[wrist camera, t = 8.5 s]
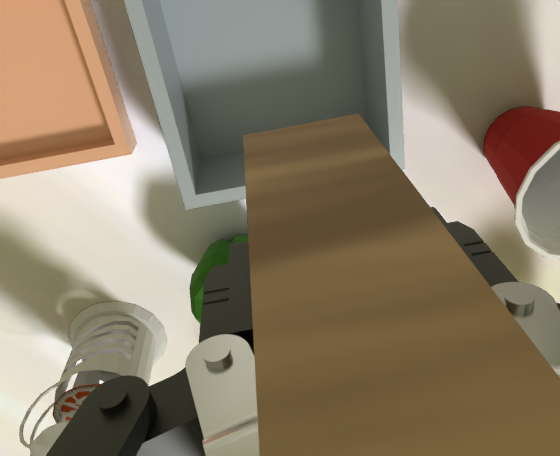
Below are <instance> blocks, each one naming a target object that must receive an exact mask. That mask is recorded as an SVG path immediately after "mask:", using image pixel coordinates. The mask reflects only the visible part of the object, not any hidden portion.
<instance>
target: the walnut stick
mask: <svg viewBox="0 0 560 456" xmlns="http://www.w3.org/2000/svg"><path fill="white" fill-rule="evenodd" d="M243 148H244V167H245V186H246V205H247V224H248V244H249V263H250V282H251V301H252V320H253V339H254V358H255V377H256V397H257V416H258V435H259V454H260V456H560V377H559V376H558V375H557V373H556V372H555V371H554V369H553V368H552V367H551V366H550V364H549V363H548V362H547V360H546V359H545V358H544V356H543V355H542V354H541V352H540V351H539V350H538V348H537V347H536V346H535V345H534V343H533V342H532V341H531V339H530V338H529V337H528V335H527V334H526V333H525V331H524V330H523V329H522V327H521V326H520V325H519V324H518V322H517V321H516V320H515V318H514V317H513V316H512V314H511V313H510V312H509V310H508V309H507V308H506V306H505V305H504V304H503V302H502V301H501V300H500V299H499V297H498V296H497V295H496V293H495V292H494V291H493V289H492V288H491V287H490V285H489V284H488V283H487V281H486V280H485V279H484V278H483V276H482V275H481V274H480V272H479V271H478V270H477V268H476V267H475V266H474V264H473V263H472V262H471V260H470V259H469V258H468V256H467V255H466V254H465V253H464V251H463V250H462V249H461V247H460V246H459V245H458V243H457V242H456V241H455V239H454V238H453V237H452V235H451V234H450V233H449V232H448V230H447V229H446V228H445V226H444V225H443V224H442V222H441V221H440V220H439V218H438V217H437V216H436V214H435V213H434V212H433V211H432V209H431V208H430V207H429V205H428V204H427V203H426V201H425V200H424V199H423V197H422V196H421V195H420V193H419V192H418V191H417V189H416V188H415V187H414V186H413V184H412V183H411V182H410V180H409V179H408V178H407V176H406V175H405V174H404V172H403V171H402V170H401V168H400V167H399V166H398V165H397V163H396V162H395V161H394V159H393V158H392V157H391V155H390V154H389V153H388V151H387V150H386V149H385V147H384V146H383V145H382V143H381V142H380V141H379V140H378V138H377V137H376V136H375V134H374V133H373V132H372V130H371V129H370V128H369V126H368V125H367V124H366V122H365V121H364V120H363V119H362V117H361V116H360V115H359V114H355V115H349V116H344V117H339V118H333V119H328V120H323V121H317V122H312V123H307V124H301V125H296V126H291V127H285V128H280V129H275V130H269V131H264V132H259V133H253V134H248V135H243Z"/></svg>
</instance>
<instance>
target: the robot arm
mask: <svg viewBox="0 0 560 456" xmlns="http://www.w3.org/2000/svg"><path fill="white" fill-rule="evenodd" d="M430 208H431V209H432V211H433V212H434V213H435V214H436V216H437V217H438V218H439V220H440V221H441V222H442V224H443V225H444V226H445V228H446V229H447V230H448V232H449V233H450V234H451V235H452V237H453V238H454V239H455V241H456V242H457V243H458V245H459V246H460V247H461V249H462V250H463V251H464V253H465V254H466V255H467V256H468V258H469V259H470V260H471V262H472V263H473V264H474V266H475V267H476V268H477V270H478V271H479V272H480V274H481V275H482V276H483V278H484V279H485V280H486V281H487V283H488V284H489V285H490V287H491V288H492V289H493V291H494V292H495V293H496V295H497V296H498V297H499V299H500V300H501V301H502V302H503V304H504V305H505V306H506V308H507V309H508V310H509V312H510V313H511V314H512V316H513V317H514V318H515V320H516V321H517V322H518V324H519V325H520V326H521V327H522V329H523V330H524V331H525V333H526V334H527V335H528V337H529V338H530V339H531V341H532V342H533V343H534V345H535V346H536V347H537V348H538V350H539V351H540V352H541V354H542V355H543V356H544V358H545V359H546V360H547V362H548V363H549V364H550V366H551V367H552V368H553V369H554V371H555V372H556V373H557V375H558V376H559V377H560V304H559V303H556V302H555V300H554V298H553V297H552V296H551V295H550V294H549V293H548V292H546V291H545V290H543V289H541V288H539V287H537V286H534V285H531V284H527V283H521V282H518V281H517V280H516V278H515V277H514V276H513V275H512V274H511V273H510V271H509V270H508V269H507V268H506V267H505V266H504V264H503V263H502V262H501V261H500V260H499V259H498V257H497V256H496V255H495V254H494V253H493V252H491V249H490V248H489V247H488V246H487V245H486V243H484V242H483V240H482V239H481V238H480V236H479V235H478V234H477V233H476V232H475V231H474V229H472V228H470V227H468V226H466V225H464V224H462V223H460V222H458V221H456V222H451V223H447V222H446V221H445V220H444V219H443V217H442V216H441V215H440V213H439V212H438V211H437V210H436V208H434V207H430ZM203 293H204V295H203V301H202V304H203V306H202V313H201V324H200V336H199V344H198V345H196V346H195V347H194V348H193V349H192V351H191V352H190V353H189V355H188V357H187V359H186V364H185V368H184V369H183V370H181V371H180V372H178V373H177V374H175V375H173V376H171V377H169V378H167V379H165V380H163V381H160V382H158V383H156V384H154V385H151V386H148V384H147V383H146V382H145V380H143V379H142V378H140V377H137V376H132V375H126V376H119V377H116V378H113V379H110V380H108V381H106V382H104V383H102V384H101V385H99V386H98V387H96V388H95V389H94V390H93V391H92V392H91V393H90V394H89V395H88V396H87V397H86V398H85V400H84V401H83V403H82V404H81V405H80V407H79V408H78V410H77V411H76V413H75V414H74V415H73V417H72V418H71V420H70V421H69V423H68V424H67V425H66V427H65V428H64V430H63V431H62V433H61V434H60V436H59V437H58V438H57V440H56V441H55V443H54V444H53V446H52V447H51V448H50V450H49V451H48V453H47V454H46V456H260V454H259V435H258V416H257V397H256V377H255V358H254V339H253V320H252V301H251V282H250V263H249V244H248V241H245V242H240V243H235V244H230V245H229V263H228V264H223V265H217V266H213V267H212V269H211V270H210V272H209V273H208V275H207V276H206V277H205V279H204V289H203Z"/></svg>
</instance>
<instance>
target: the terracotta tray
mask: <svg viewBox="0 0 560 456" xmlns="http://www.w3.org/2000/svg"><path fill="white" fill-rule="evenodd" d="M136 144H137V142H136V139H135V136H134V133H133V130H132V127H131V124H130V121H129V118H128V115H127V111H126V108H125V105H124V102H123V99H122V96H121V93H120V90H119V87H118V84H117V81H116V78H115V75H114V72H113V68H112V65H111V62H110V59H109V56H108V53H107V50H106V47H105V44H104V41H103V38H102V35H101V32H100V29H99V25H98V22H97V19H96V16H95V13H94V10H93V7H92V4H91V1H90V0H0V179H2V178H7V177H12V176H18V175H23V174H28V173H34V172H39V171H44V170H50V169H55V168H60V167H65V166H71V165H76V164H81V163H87V162H92V161H97V160H103V159H108V158H113V157H119V156H124V155H129V154H132V152H133V150H134V148H135V146H136Z"/></svg>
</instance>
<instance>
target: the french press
mask: <svg viewBox="0 0 560 456" xmlns="http://www.w3.org/2000/svg"><path fill="white" fill-rule="evenodd" d="M69 339H70V342H71V345H72V347H73V349H72V351H71V354H70V356H69V359H68V361H67V364H66V366H65V369H64V371H63V374H62V376H61V379H60V381H59V382H58V383H56V384H55V385H53V386H51V387H50V388H48V389H47V390H46V391H44V392H43V393H42V394H41V395H40V396H39V397H38V398H37V399H36V400H35V402H34V403H33V404H32V405H31V407H30V408H29V409H28V411H27V412H26V415H25V417H24V419H23V421H22V424H21V426H20V432H19V435H20V442H21V443H22V444H23V445H24V446H25V447H27V448H30V452H31V453H30V456H46V454H47V453H48V451H49V450H50V448H51V447H52V446H53V444H54V443H55V441H56V440H57V438H58V437H59V436H60V434H61V433H62V431H63V430H64V428H65V427H66V425H67V424H68V423H69V421H70V420H71V418H72V417H73V415H74V414H75V413H76V411H77V410H78V408H79V407H80V405H81V404H82V403H83V401H84V400H85V398H86V397H87V396H88V395H89V394H90V393H91V392H92V391H93V390H94V389H95V388H96V387H98V386H99V385H101V384H99V380H102V381H104V382H106V381H108V380H110V379H113V378H116V377H119V376H126V375H132V376H137V377H140V378H142V379H143V380H145V382H146V383H147V384H148V385H149V380H150V375H151V370H152V365H154V364H155V363H156V362H157V361H158V360H159V359H160V357H161V356H162V355H163V354H164V351H165V347H166V344H167V337H166V333H165V329H164V326H163V325H162V324H161V323H160V322H159V320H158V319H157V318H156V317H155V316H154V314H152V313H150V312H149V311H147V310H145V309H143V308H141V307H140V306H138V305H135V304H130V303H125V302H120V301H112V302H103V303H96V304H94V305H92V306H90V307H88V308H86V309H84V310H82V311H81V312H80V313H79V314H78V315H77V317H76V318H75V319H74V320H73V322H72V323H71V327H70V333H69ZM80 359H82V360H83V361H82V362H81V363H80V364H78V365H76V362H77V361H78V360H80ZM75 365H76V366H75ZM76 373H78V375H77V377H76V380H75V383H74V386H73V388H72V389H71V390H69V391H67V392H65V391H66V389H67V386H68V383H69V381H70V378H71V375H73V374H76ZM57 386H58V387H57ZM55 387H57V389H56V394H55V402H54V403H53V404H52V405H51V406H49V408H48V409H47V410H46V411H45V412H44V413H43V414H42V416H41V417H40V419H39V420H38V421H37V423H36V425H35V427H34V430H33V432H32V435H31V437H30V445H28V444H27V443H26V442H25V441H24V438H23V428H24V424H25V422H26V420H27V418H28V416H29V414H30V412H31V410H32V408H33V407H34V406H35V405H36V404H37V402H38V401H39V400H40V399H41V398H42V397H43V396H44V395H45V394H47V393H48V392H49V391H50V390H52V389H53V388H55ZM53 406H54V409H53V417H54V419H55V421H56V423H57V424H55V425H53V426H50V427H48V428H46V429H45V430H44V431H42V432H41V434H40V435H39V436H38V437H37V438H36V439H35V440H34V441H33V438H34V435H35V433H36V430H37V428H38V426H39V424H40V422H41V421H42V419H43V418H44V416H45V415H46V414H47V412H48V411H49V410H50V409H51V408H52V407H53Z"/></svg>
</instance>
